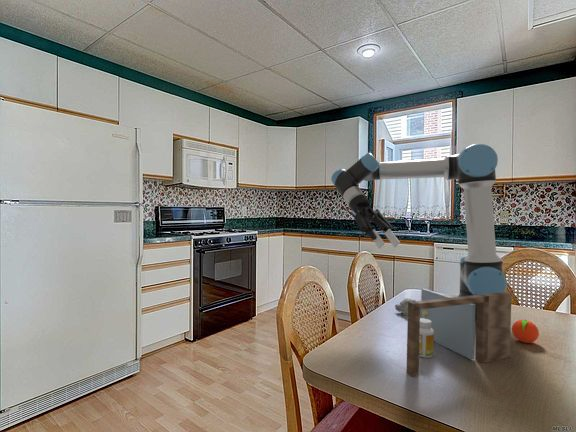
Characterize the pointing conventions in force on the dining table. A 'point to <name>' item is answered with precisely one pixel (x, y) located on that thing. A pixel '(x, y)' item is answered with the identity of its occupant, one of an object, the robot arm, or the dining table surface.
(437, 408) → the dining table surface
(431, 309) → the door
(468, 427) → the dining table surface
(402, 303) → the mineral specimen
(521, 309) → the dining table surface
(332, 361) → the dining table surface
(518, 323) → the clementine
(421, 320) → the supplement bottle
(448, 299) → the door frame
